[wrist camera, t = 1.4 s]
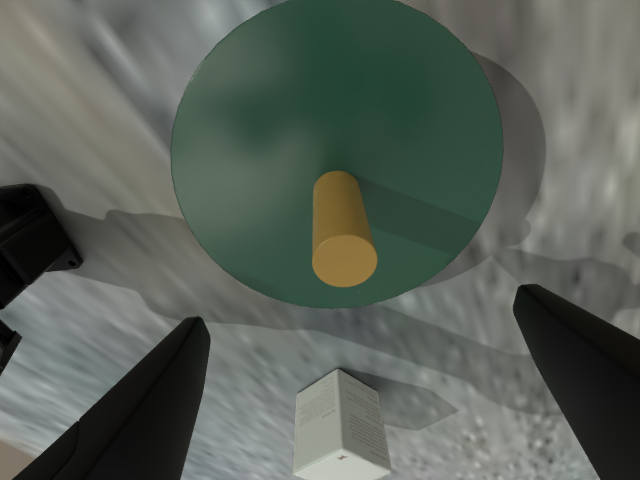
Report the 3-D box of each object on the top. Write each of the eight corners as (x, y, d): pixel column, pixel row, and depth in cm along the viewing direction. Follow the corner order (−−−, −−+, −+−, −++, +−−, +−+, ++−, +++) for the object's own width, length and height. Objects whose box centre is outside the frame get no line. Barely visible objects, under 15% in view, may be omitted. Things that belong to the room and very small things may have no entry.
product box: (294, 392, 34) (290, 475, 28) (338, 365, 31) (343, 448, 25) (336, 415, 36) (340, 496, 30) (380, 391, 34) (394, 473, 28)
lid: (228, 307, 23) (197, 407, 17) (121, 25, 14) (-23, 28, 8) (471, 283, 22) (529, 380, 16) (523, -36, 13) (698, -85, 7)
